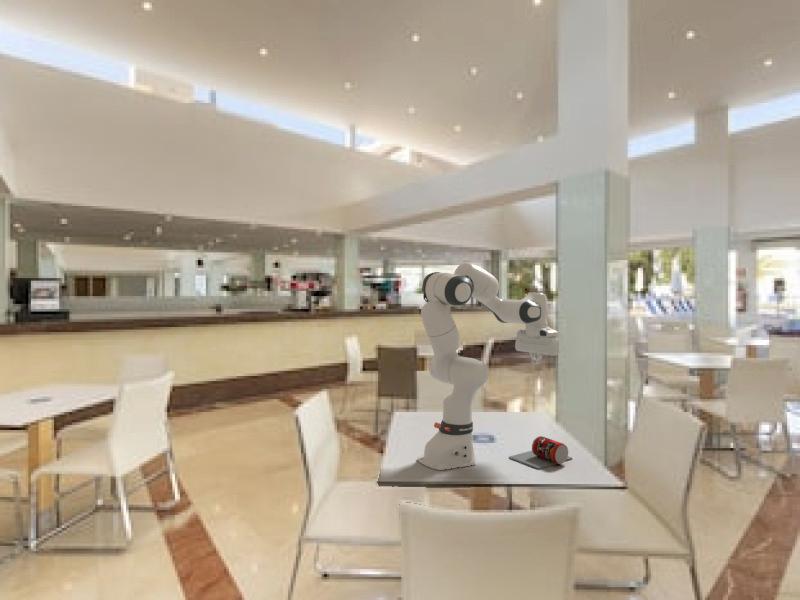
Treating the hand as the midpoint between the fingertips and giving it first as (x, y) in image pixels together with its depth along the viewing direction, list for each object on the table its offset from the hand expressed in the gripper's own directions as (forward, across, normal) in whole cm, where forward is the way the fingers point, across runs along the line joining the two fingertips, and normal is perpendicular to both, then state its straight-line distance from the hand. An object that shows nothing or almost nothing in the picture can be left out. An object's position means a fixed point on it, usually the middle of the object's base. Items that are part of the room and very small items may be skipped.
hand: (535, 363), depth 195 cm
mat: (+34, +12, -11) cm, 38 cm away
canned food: (+30, +21, -11) cm, 38 cm away
